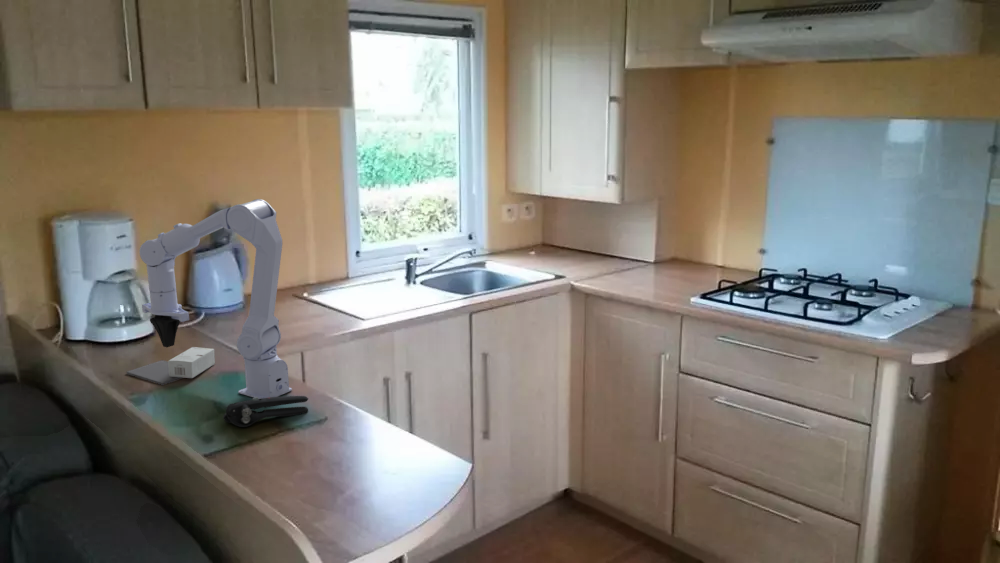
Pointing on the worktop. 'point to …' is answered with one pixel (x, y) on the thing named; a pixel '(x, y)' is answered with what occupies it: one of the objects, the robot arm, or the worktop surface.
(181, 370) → the skincare box
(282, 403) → the can opener
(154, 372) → the mat
